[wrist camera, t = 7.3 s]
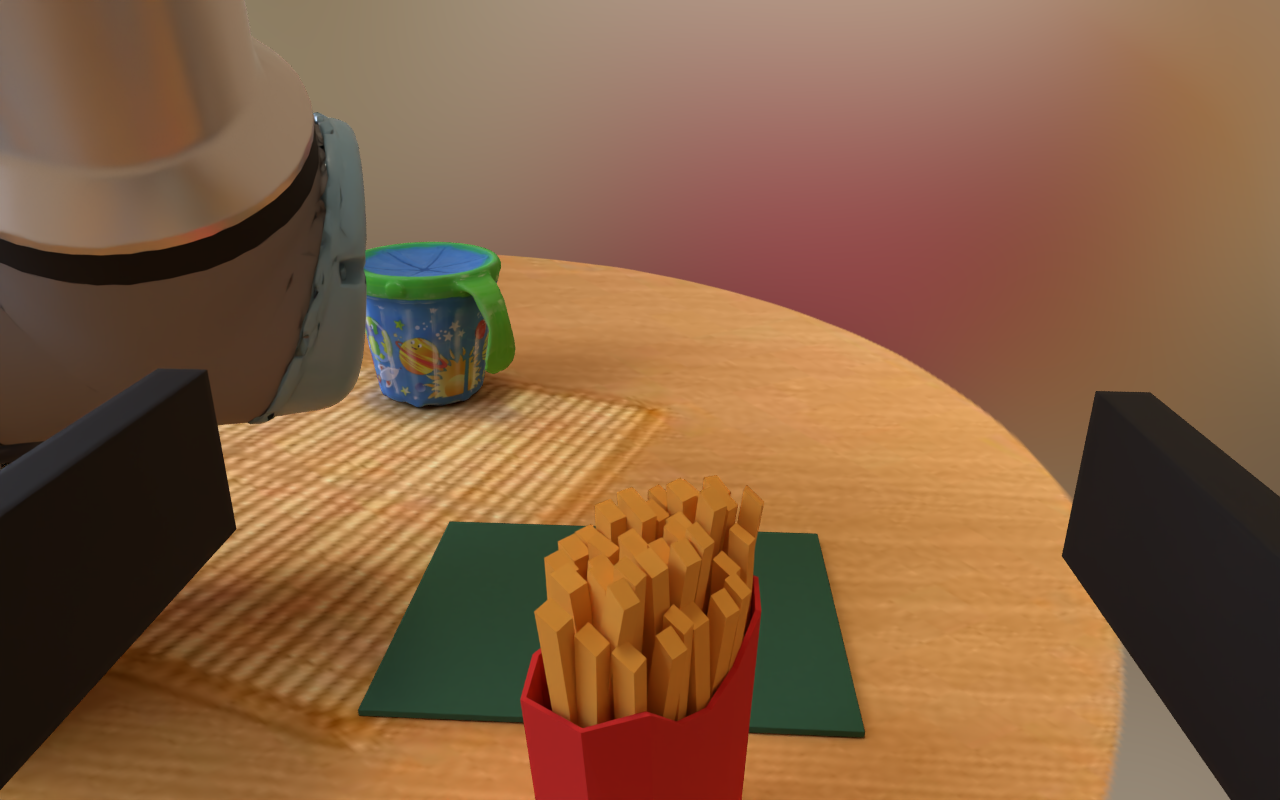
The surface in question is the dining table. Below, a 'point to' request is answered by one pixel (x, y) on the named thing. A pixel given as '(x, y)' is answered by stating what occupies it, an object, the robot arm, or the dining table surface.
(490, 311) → the snack cup
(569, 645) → the french fries
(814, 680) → the green cloth
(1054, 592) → the dining table surface
